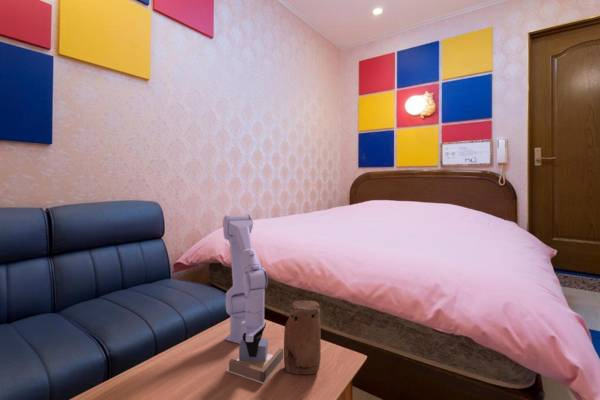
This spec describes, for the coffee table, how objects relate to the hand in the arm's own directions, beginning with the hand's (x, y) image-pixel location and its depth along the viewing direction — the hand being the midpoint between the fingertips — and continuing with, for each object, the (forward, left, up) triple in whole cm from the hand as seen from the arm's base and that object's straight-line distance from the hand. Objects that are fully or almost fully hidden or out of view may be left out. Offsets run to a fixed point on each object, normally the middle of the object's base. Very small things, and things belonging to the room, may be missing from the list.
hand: (254, 351), depth 89 cm
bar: (0, 0, -2) cm, 2 cm away
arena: (+1, +1, -4) cm, 4 cm away
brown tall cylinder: (-4, +14, -4) cm, 15 cm away
